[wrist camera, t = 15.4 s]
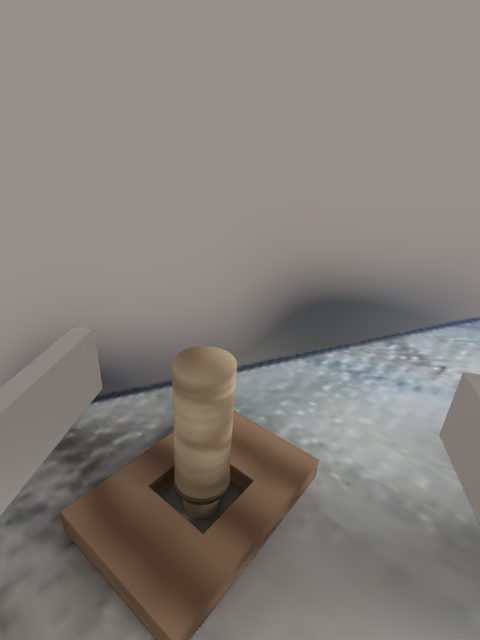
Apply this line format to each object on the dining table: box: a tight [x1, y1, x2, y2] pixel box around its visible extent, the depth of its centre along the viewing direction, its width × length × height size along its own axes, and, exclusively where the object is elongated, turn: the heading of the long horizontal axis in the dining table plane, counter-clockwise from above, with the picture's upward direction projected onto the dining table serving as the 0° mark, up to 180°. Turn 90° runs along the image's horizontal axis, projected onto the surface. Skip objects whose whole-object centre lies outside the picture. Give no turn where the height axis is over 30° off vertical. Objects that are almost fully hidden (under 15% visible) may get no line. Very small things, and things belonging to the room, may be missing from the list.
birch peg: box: [172, 346, 237, 519], centre depth 32 cm, size 5×5×16 cm
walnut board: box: [60, 411, 319, 640], centre depth 35 cm, size 20×14×2 cm
